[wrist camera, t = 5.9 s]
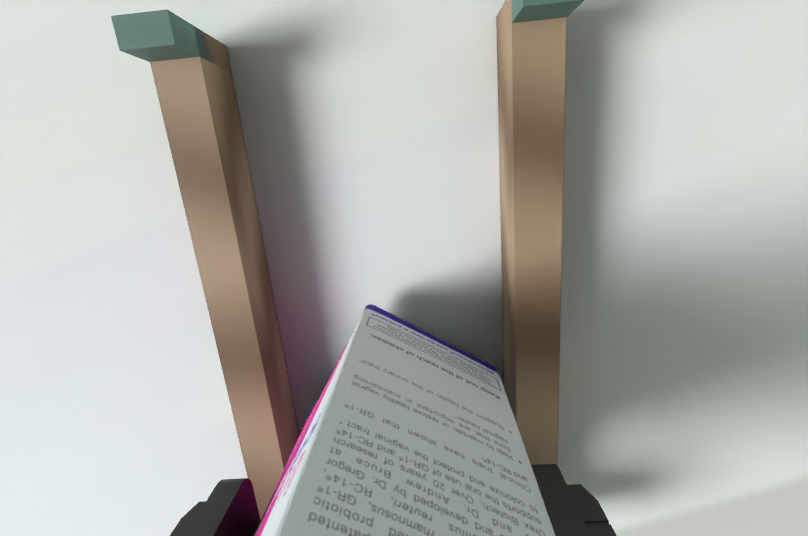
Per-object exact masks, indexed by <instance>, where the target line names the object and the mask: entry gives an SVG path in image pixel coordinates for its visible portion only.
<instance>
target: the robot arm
mask: <svg viewBox="0 0 808 536" xmlns="http://www.w3.org/2000/svg"><path fill="white" fill-rule="evenodd" d="M531 467H532V469H533V472H534V475H535V478H536V481H537V484H538V487H539V490H540V493H541V496H542V498H543V501H544V504H545V507H546V510H547V513H548V516H549V518H550V521H551V524H552V527H553V530H554V533H555V536H616V534H615V532H614V530H613V528H612V526H611V525H609V522H608V519H607V517H606V515H605V513H604V512H603V510H602V508H601V506H600V504H599V502H598V501H597V500H596V499H595V498H594V497H593V496H592V495H591V494H590V493H589V492H588V491H587V490H586V489H585V488H584V487H583V486H582V485H581V484H579V485H566V483H565V480H564V478H563V476H562V474H561V472H560V470H559V468H558V466H557V465H556V464H537V465H531ZM260 521H261V520H260V515H259V511H258V507H257V502H256V498H255V494H254V489H253V485H252V482H251V480H250V479H248V478H245V479H226V480H221V481H220V482H219V483H218V484H217V485H216V487H215V488H214V490H213V492H212V493H211V495H210V496H209V498H208V500H207V501H206V502H199V503H198V504H196V505H195V506H194V507H193V508H192V509H191V510H190V511H189V512H188V513H187V514H186V515H185V516H184V517H183V518H181V520H180V521H179V523H178V524H177V526H176V527H175V529H174V530H173V532H172V533H171V535H170V536H254V534H255V532H256V530H257V527H258V525H259V523H260Z"/></svg>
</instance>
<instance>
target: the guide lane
mask: <svg viewBox="0 0 808 536" xmlns="http://www.w3.org/2000/svg"><path fill="white" fill-rule="evenodd" d="M583 1H584V0H506V1H505V2H504V4H503V6H502V8H501V10H500V11H499V13H498V15H497V64H498V110H499V157H500V203H501V250H502V296H503V342H504V389H505V392H506V395H507V398H508V401H509V404H510V407H511V409H512V412H513V415H514V418H515V421H516V423H517V426H518V429H519V432H520V435H521V438H522V441H523V444H524V446H525V449H526V452H527V455H528V458H529V461H530V464H531V465H537V464H556V465H557V452H558V403H559V353H560V304H561V255H562V205H563V156H564V107H565V57H566V17H567V16H568V15H569V14H570V13H571V12H572V11H573V10H574V9H575V8H577V7H578V6H579V5H580V4H581V3H582V2H583ZM111 18H112V22H113V25H114V29H115V33H116V37H117V41H118V45H119V49H120V51H123V52H125V53H128V54H130V55H133V56H136V57H138V58H141V59H144V60H146V61H149V62H150V64H151V68H152V72H153V77H154V81H155V85H156V89H157V94H158V98H159V102H160V106H161V111H162V115H163V119H164V123H165V128H166V132H167V136H168V140H169V145H170V149H171V153H172V157H173V162H174V166H175V170H176V174H177V179H178V183H179V187H180V191H181V196H182V200H183V204H184V208H185V213H186V217H187V221H188V225H189V230H190V234H191V238H192V242H193V247H194V251H195V255H196V259H197V264H198V268H199V272H200V276H201V281H202V285H203V289H204V293H205V298H206V302H207V306H208V310H209V315H210V319H211V323H212V327H213V332H214V336H215V340H216V344H217V349H218V353H219V357H220V361H221V366H222V370H223V374H224V378H225V383H226V387H227V391H228V395H229V400H230V404H231V408H232V412H233V417H234V421H235V425H236V429H237V434H238V438H239V442H240V446H241V451H242V455H243V459H244V463H245V468H246V472H247V476H248V479H250V480H251V482H252V485H253V489H254V494H255V498H256V502H257V507H258V511H259V515H260V520H261V519H262V517H263V514H264V512H265V510H266V508H267V506H268V503H269V501H270V499H271V497H272V495H273V493H274V490H275V488H276V486H277V484H278V481H279V479H280V477H281V475H282V473H283V471H284V468H285V466H286V464H287V462H288V460H289V457H290V455H291V453H292V451H293V449H294V447H295V444H296V442H297V440H298V438H299V433H298V427H297V422H296V416H295V411H294V406H293V400H292V395H291V390H290V384H289V379H288V374H287V368H286V363H285V357H284V352H283V347H282V341H281V336H280V331H279V325H278V320H277V315H276V309H275V304H274V299H273V293H272V288H271V282H270V277H269V272H268V266H267V261H266V256H265V250H264V245H263V240H262V234H261V229H260V223H259V218H258V213H257V207H256V202H255V197H254V191H253V186H252V181H251V175H250V170H249V164H248V159H247V154H246V148H245V143H244V138H243V132H242V127H241V122H240V116H239V111H238V105H237V100H236V95H235V89H234V84H233V79H232V73H231V68H230V63H229V57H228V52H227V47H226V46H225V45H224V44H222V43H221V42H219V41H217V40H216V39H214V38H212V37H211V36H209V35H208V34H206V33H204V32H203V31H201V30H200V29H198V28H196V27H195V26H193V25H191V24H190V23H188V22H187V21H185V20H183V19H182V18H180V17H178V16H177V15H175V14H174V13H172V12H170V11H169V10H160V11H151V12H142V13H133V14H125V15H116V16H111Z"/></svg>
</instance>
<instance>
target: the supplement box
mask: <svg viewBox="0 0 808 536" xmlns="http://www.w3.org/2000/svg"><path fill="white" fill-rule="evenodd" d="M254 536H555V533H554V530H553V527H552V524H551V521H550V518H549V516H548V513H547V510H546V507H545V504H544V501H543V498H542V496H541V493H540V490H539V487H538V484H537V481H536V478H535V475H534V472H533V469H532V467H531V464H530V461H529V458H528V455H527V452H526V449H525V446H524V444H523V441H522V438H521V435H520V432H519V429H518V426H517V423H516V421H515V418H514V415H513V412H512V409H511V407H510V404H509V401H508V398H507V395H506V392H505V390H504V386H503V383H502V380H501V378H500V375H499V372H498V368H497V367H495V366H493V365H491V364H490V363H488V362H486V361H484V360H482V359H480V358H478V357H476V356H474V355H472V354H470V353H468V352H466V351H464V350H462V349H460V348H458V347H456V346H454V345H452V344H450V343H447V342H446V341H444V340H442V339H439V338H437V337H435V336H434V335H432V334H430V333H428V332H426V331H424V330H422V329H420V328H418V327H416V326H414V325H412V324H411V323H409V322H407V321H405V320H403V319H401V318H398V317H396V316H395V315H393V314H391V313H388V312H386V311H384V310H382V309H380V308H378V307H377V306H374V305H367V306H366V307H365V309H364V311H363V313H362V315H361V317H360V319H359V321H358V324H357V326H356V328H355V330H354V332H353V334H352V336H351V338H350V340H349V342H348V344H347V345H346V347H345V349H344V351H343V353H342V355H341V357H340V359H339V361H338V363H337V365H336V367H335V368H334V370H333V372H332V374H331V376H330V378H329V380H328V382H327V384H326V386H325V388H324V390H323V392H322V394H321V395H320V397H319V399H318V401H317V402H316V404H315V406H314V407H313V409H312V411H311V412H310V414H309V416H308V418H307V420H306V423H305V425H304V427H303V429H302V432H301V434H300V436H299V438H298V440H297V442H296V444H295V447H294V449H293V451H292V453H291V455H290V457H289V460H288V462H287V464H286V466H285V468H284V471H283V473H282V475H281V477H280V479H279V481H278V484H277V486H276V488H275V490H274V493H273V495H272V497H271V499H270V501H269V503H268V506H267V508H266V510H265V512H264V514H263V517H262V519H261V521H260V523H259V525H258V527H257V530H256V532H255V534H254Z"/></svg>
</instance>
